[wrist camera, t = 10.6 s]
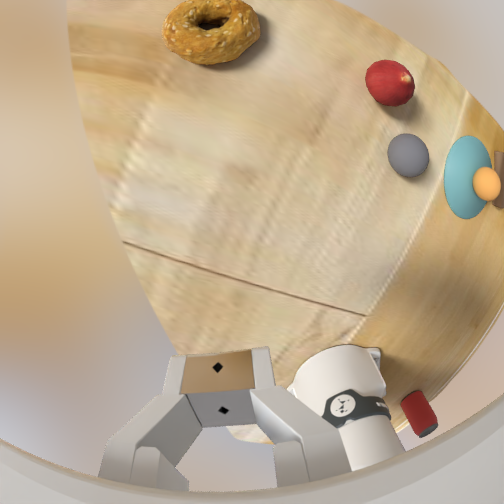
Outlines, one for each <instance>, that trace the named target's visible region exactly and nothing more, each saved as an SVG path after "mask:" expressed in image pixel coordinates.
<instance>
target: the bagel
mask: <svg viewBox="0 0 504 504" xmlns="http://www.w3.org/2000/svg"><path fill="white" fill-rule="evenodd" d="M204 22H205V23H208V24H217V25H220V26H222V27H220V28H213V29H210V30H204V29H202V28H200V27H198V26H199V25H200V24H201V23H204ZM259 27H260V24H259V20H258V17H257V14H256V13H255V12H254V10H253V8H252V7H251V6H250V5H248V4H246V3H244V2H243V1H241V0H188V1H187V2H186V1H185V2H183V3H181V4H179V5H178V6H177V7H176V8H174V9H173V10H172V11H171V12H170V13H169V14H168V16H167V17H166V19H165V20H164V22H163V26H162V38H163V41H164V43H165V45H166V46H167V48H168V49H169V50H170V51H171V52H174V53H176V54H178V55H179V56H180V57H181V58H183V59H185V60H188V61H190V62H192V63H195V64H206V65H209V64H216V63H221V62H228V61H232V60H235V59H237V58H238V57H239V56H240V55H241V54H242V52H244V51H245V50H246V49H247V48H249V47H250V46H251V45H252V44H253V43H254V42H256V41H257V40H258V39H259V37H260V33H261V31H260V28H259Z"/></svg>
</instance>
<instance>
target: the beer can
mask: <svg viewBox="0 0 504 504" xmlns="http://www.w3.org/2000/svg"><path fill="white" fill-rule="evenodd" d="M401 407H402V409H403V411H404V413H405V415H406V417H407V419H408V421H409V423H410V425H411V427H412V429H413V431H414V433H415V434H416V435H418V436H419V438H422V437H425V436H427V435H428V434H430V433H431V432H432V431H434V430H435V429H436V428H437V427H438V423H437V417H436V415H435V413H434V412H433V410H432V408H431V406H430V405H429V403H428V401H427V400H426V398H425V396H424V395H423V393H422V392H421V391H415V392H413V393H411V394H409V395H408V396H407V397H405V398H404V400H403V401H402V403H401Z"/></svg>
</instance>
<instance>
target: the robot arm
mask: <svg viewBox="0 0 504 504" xmlns="http://www.w3.org/2000/svg"><path fill="white" fill-rule="evenodd" d="M385 395H386V384H385V382H384V379H383V377H382V375H381V373H380V351H379V349H378V348H362V347H359V346H355V345H341V346H336V347H332V348H329V349H326V350H324V351H321V352H319V353H317V354H316V355H314V356H312V357H311V358H310V359H308V360H307V361H306V362H305V363H304V364H303V365H302V366H301V367H300V368H299V370H298V371H297V373H296V376H295V379H294V381H293V383H292V384H291V385H290V386H289V387H288V388H287V389H285V388H284V387H282V386H281V385H280V386H276V384H275V378H274V373H273V367H272V362H271V356H270V351H269V347H268V346H265V347H258V348H252V350H251V349H245V350H237V351H229V352H220V353H207V354H188V355H173V356H172V357H171V358H170V362H169V366H168V370H167V375H166V379H165V383H164V388H163V393H162V395H157V396H156V397H155V398H153V400H151V401H150V402H149V403H148V404H147V405H146V406H145V407H144V408H143V409H142V410H141V411H140V412H139V413H137V414H136V415H135V416H134V417H133V418H132V419H131V420H130V421H129V422H128V423H126V424H125V425H124V426H123V427H122V428H121V429H120V430H119V431H118V432H117V433H115V434H114V435H113V436H112V437H111V438H110V439H109V440H108V441H107V445H106V448H105V452H104V455H103V459H102V463H101V467H100V471H99V475H98V477H96V476H92V475H88V474H85V473H81V472H78V471H75V470H72V469H69V468H66V467H63V466H60V465H57V464H55V463H52V462H50V461H47V460H45V459H42V458H40V457H37V456H35V455H33V454H31V453H28V452H26V451H24V450H22V449H20V448H18V447H16V446H14V445H12V444H10V443H8V442H6V441H4V440H3V439H1V438H0V504H504V393H503V394H502V395H501V396H500V397H498V398H497V399H496V400H494V401H493V402H492V403H490V404H489V405H487V406H486V407H485V408H483V409H482V410H480V411H479V412H478V413H476V414H474V415H473V416H471V417H470V418H468V419H467V420H465V421H464V422H462V423H460V424H459V425H457V426H455V427H454V428H452V429H450V430H448V431H447V432H445V433H443V434H441V435H439V436H437V437H435V438H434V439H432V440H430V441H428V442H426V443H424V444H422V445H420V446H417V447H415V448H413V449H411V450H409V451H405V449H404V447H403V445H402V444H401V442H400V440H399V438H398V436H397V434H396V432H395V430H394V428H393V426H392V424H391V422H390V420H391V415H390V413H389V409H388V407H387V405H386V404H385V402H384V400H383V399H382V398H383V396H385ZM248 424H257V425H258V426H259V427H260V429H261V430H262V431H263V432H264V433H265V434H266V435H267V436H268V437H269V438H270V440H271V441H272V442H273V443H274V444H275V446H274V448H273V454H274V461H275V470H276V479H277V488H270V489H260V490H248V491H230V492H199V491H197V492H196V491H189V481H188V480H187V479H186V478H185V477H184V476H183V475H182V474H181V473H180V472H179V471H178V470H177V469H176V468H175V467H176V465H177V464H178V463H179V461H180V460H181V459H182V457H183V456H184V454H185V453H186V452H187V450H188V449H189V448H190V446H191V445H192V443H193V442H194V441H195V439H196V438H197V436H198V435H199V434H200V432H201V431H202V428H203V427H220V426H233V425H248Z"/></svg>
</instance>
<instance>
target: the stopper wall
mask: <svg viewBox="0 0 504 504" xmlns="http://www.w3.org/2000/svg"><path fill="white" fill-rule="evenodd" d="M495 172H496V173H497V175H498V176H499V178H500V182H501V190H500V193H499V195H498V196H497V197H496V198H495V199H494V200H493V205H495V206H497V207H500V208H504V153H503V152H498V151H495Z"/></svg>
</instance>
